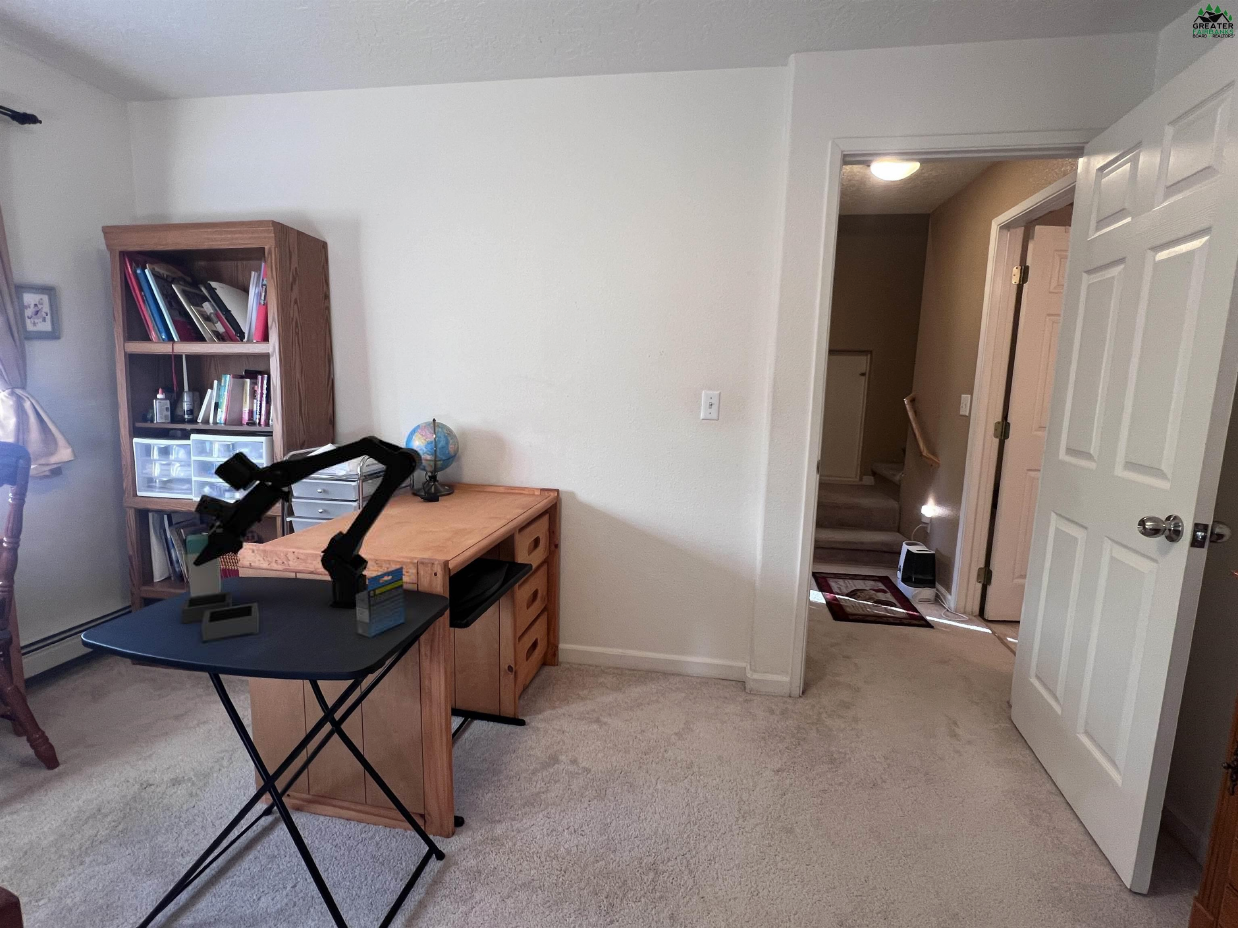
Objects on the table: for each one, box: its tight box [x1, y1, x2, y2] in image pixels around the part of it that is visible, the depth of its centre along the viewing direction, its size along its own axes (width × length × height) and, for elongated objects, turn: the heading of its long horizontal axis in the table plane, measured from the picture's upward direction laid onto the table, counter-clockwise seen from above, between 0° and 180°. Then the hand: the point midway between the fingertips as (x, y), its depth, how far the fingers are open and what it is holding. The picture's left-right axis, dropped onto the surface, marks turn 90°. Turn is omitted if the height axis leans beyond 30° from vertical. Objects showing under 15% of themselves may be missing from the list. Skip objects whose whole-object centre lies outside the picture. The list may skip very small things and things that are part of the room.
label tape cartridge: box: [355, 566, 406, 638], centre depth 118 cm, size 9×4×12 cm, turn 152°
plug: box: [185, 533, 222, 597], centre depth 121 cm, size 5×4×12 cm
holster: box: [181, 591, 233, 624], centre depth 123 cm, size 8×7×3 cm
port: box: [201, 602, 260, 644], centre depth 115 cm, size 9×8×4 cm
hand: (195, 562), depth 121 cm, fingers closed on plug, 4 cm apart
